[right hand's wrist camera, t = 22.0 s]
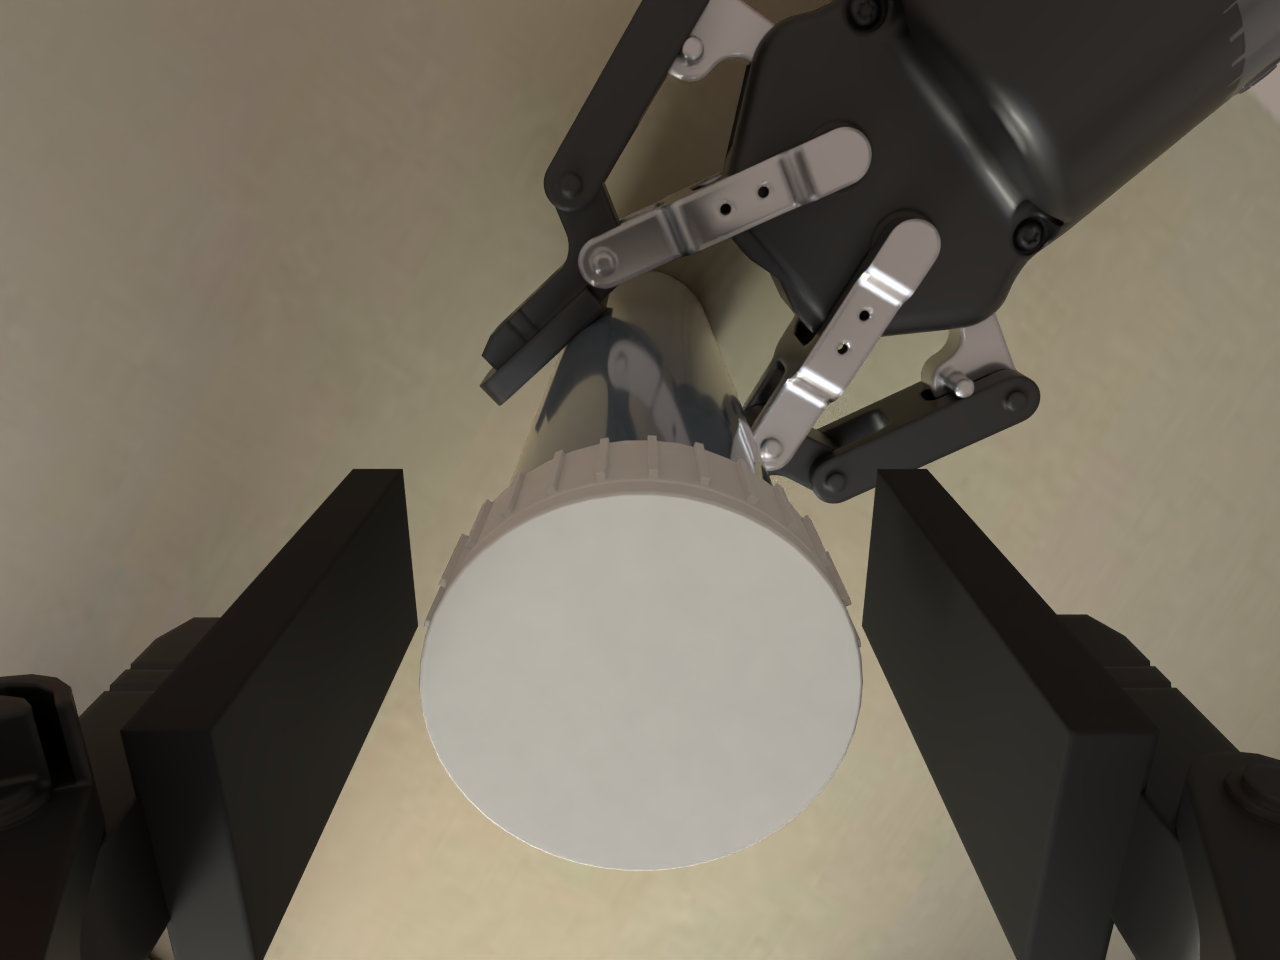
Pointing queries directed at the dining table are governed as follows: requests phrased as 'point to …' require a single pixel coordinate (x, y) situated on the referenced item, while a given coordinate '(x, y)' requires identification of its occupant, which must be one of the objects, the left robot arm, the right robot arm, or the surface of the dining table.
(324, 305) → the dining table surface
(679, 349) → the jar
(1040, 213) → the left robot arm
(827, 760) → the lid
